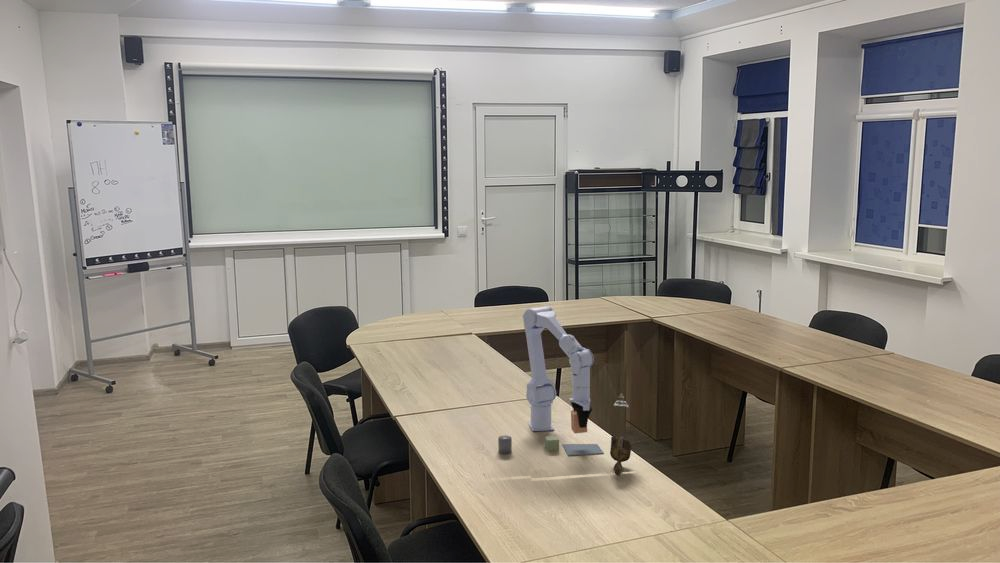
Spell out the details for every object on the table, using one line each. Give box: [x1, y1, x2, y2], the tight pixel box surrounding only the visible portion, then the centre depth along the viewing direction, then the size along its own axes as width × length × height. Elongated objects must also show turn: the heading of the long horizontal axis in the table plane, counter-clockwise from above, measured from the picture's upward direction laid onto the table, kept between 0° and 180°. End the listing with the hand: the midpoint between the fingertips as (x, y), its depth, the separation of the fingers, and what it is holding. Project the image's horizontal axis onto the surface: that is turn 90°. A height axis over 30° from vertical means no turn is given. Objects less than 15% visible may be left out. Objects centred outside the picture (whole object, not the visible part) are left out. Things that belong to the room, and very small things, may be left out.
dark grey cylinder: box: [497, 434, 513, 455], centre depth 245 cm, size 4×4×5 cm
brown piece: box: [609, 436, 633, 477], centre depth 229 cm, size 7×13×10 cm, turn 2°
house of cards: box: [613, 393, 630, 408], centre depth 288 cm, size 9×9×8 cm
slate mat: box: [561, 443, 605, 457], centre depth 249 cm, size 14×12×1 cm
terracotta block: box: [570, 409, 588, 434], centre depth 248 cm, size 4×4×6 cm
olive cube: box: [544, 435, 560, 452], centre depth 247 cm, size 4×4×4 cm
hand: (581, 424), depth 248 cm, fingers closed on terracotta block, 4 cm apart
